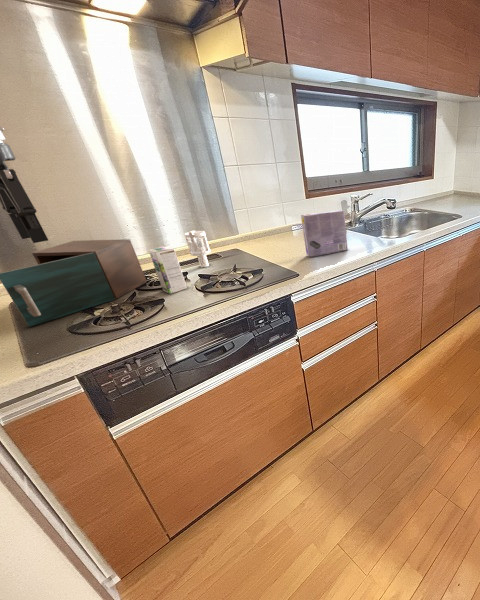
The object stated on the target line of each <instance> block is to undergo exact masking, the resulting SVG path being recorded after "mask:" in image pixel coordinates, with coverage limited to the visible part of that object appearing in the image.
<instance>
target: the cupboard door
mask: <svg viewBox="0 0 480 600" xmlns="http://www.w3.org/2000/svg"><path fill="white" fill-rule="evenodd" d="M0 283H1V284H2V286H3V287H4V289H5V290H6V292H7V294H8V296H9V297H10V299H11V300H12V302H13V303H14V305H15V307H16V308H17V310H18V311H19V313H20V315H21V317H22V318H23V320H24V321H25V324H26V325H27V326H28V328H31V327H35V326H37V325H41V324H44V323H47V322H49V321H53V320H56V319H59V318H62V317H66V316H69V315H71V314H75V313H78V312H80V311H84V310H86V309H90V308H93V307H96V306H99V305H102V304H105V303H108V302H112V301H114V300H116V298H114V296H113V293H112V291H111V289H110V287H109V285H108V283H107V280H106V278H105V276H104V274H103V272H102V270H101V267H100V265H99V263H98V261H97V259H96V257H95V254H94V253H88V254H83V255H79V256H74V257H70V258H65V259H61V260H56V261H52V262H47V263H43V264H38V263H37V264H34V265H30V266H25V267H19V268H16V269H12V270H7V271H3V272H0ZM80 307H81V308H80ZM82 308H83V309H82Z"/></svg>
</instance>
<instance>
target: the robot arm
mask: <svg viewBox="0 0 480 600" xmlns="http://www.w3.org/2000/svg"><path fill="white" fill-rule="evenodd" d="M4 131H5V128H4V127H3V126H0V205H1V208H2V209H3V210H4V211H5V212H6V213H7V214H8V216H9V218H10V220H11V221H12V224H13V225H14V227H15V229H16V231H17V232H18V234H19V236H20V238H21V239H22V240H26V239H30V240H31V242H32V243H33V244H36V243H41V242H47V241H49V239H48V236H47V234H46V233H45V230H44V229H43V227H42V225H41V223H40V220H39V219H38V217H37V215H36V213H37V209H36V208H35V206H34V204H33V203H32V201H31V199H30V197H29V195H28V194H27V192H26V190H25V188H24V187H23V184H22V183H21V181H20V179H19V177H18V175H17V171H16V170H14V168H9V167H8V165H7V164H6V161H7V162H8V161H15V160H16V156H15V154H14V152H13V149H12V147H11V146H10V144H8V143H4V142H5V141H6V139H7V138H6V137H5V135H4Z"/></svg>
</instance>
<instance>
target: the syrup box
mask: <svg viewBox="0 0 480 600" xmlns="http://www.w3.org/2000/svg"><path fill="white" fill-rule="evenodd" d="M148 252H149V255H150V258H151V261H152V264H153V267H154V270H155V272H156V275H157V278H158V281H159V283H160V286H161V288H162V291H163V292H165V293H167V294H170V295H171V294H174V293H177V292H180V291H183V290H186V289H188V287H187V283H186V280H185V277H184V274H183V271H182V267H181V265H180V262H179V259H178V255H177V253H176V250H175V248H174V247H173V248H172V247H170V246H167V245H166V246H158V247H153V248H150V249H148Z"/></svg>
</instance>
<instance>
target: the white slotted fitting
mask: <svg viewBox="0 0 480 600" xmlns="http://www.w3.org/2000/svg"><path fill="white" fill-rule="evenodd" d="M183 235H184V238H185V241H186V243H187V246H188V249H189V253H190V256H192V257H197V260H198V263H199V267H200V268H207V267H209V266H210V264H209V261H208V257H207V255H209V254H210V253H211V248H210V245H209V242H208V237H207V235H206V231H205V230H190V231H188V232H184V234H183Z"/></svg>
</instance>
